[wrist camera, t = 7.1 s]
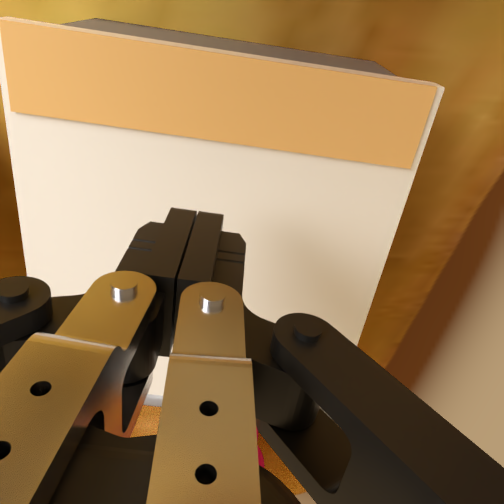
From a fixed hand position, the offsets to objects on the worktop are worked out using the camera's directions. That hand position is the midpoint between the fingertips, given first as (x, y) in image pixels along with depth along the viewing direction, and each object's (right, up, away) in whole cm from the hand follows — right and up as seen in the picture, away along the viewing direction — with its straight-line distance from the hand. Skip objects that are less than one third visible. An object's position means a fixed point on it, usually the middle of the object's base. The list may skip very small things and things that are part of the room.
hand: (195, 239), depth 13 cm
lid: (0, -1, +6) cm, 7 cm away
